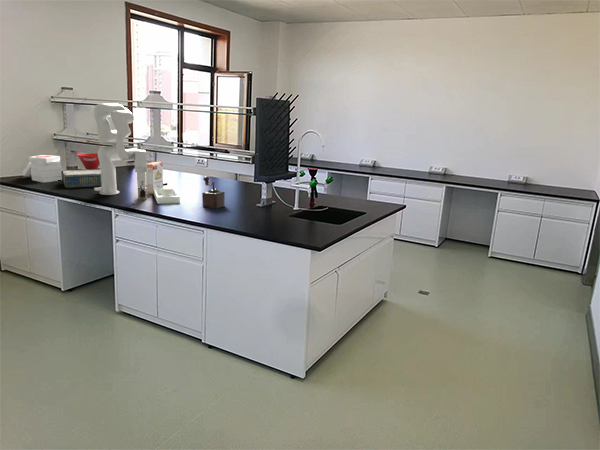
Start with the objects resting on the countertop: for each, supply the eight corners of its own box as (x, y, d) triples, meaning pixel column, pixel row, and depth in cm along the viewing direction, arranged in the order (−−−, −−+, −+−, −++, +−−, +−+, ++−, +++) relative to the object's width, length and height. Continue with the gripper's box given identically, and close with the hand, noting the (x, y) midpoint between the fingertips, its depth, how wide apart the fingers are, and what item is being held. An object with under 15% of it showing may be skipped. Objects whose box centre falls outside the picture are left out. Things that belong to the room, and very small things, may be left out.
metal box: (113, 186, 342) (112, 173, 340) (64, 188, 327) (63, 174, 324) (109, 181, 360) (108, 168, 358) (63, 183, 345) (62, 170, 342)
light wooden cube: (138, 201, 297) (137, 189, 295) (138, 199, 301) (137, 187, 299) (146, 201, 299) (146, 188, 297) (146, 199, 303) (145, 187, 301)
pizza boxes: (43, 175, 370) (41, 153, 366) (66, 180, 355) (64, 156, 351) (19, 178, 355) (16, 154, 350) (41, 183, 340) (39, 158, 335)
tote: (157, 205, 289) (157, 197, 288) (153, 195, 315) (153, 188, 314) (179, 204, 294) (179, 196, 293) (174, 195, 320) (174, 188, 319)
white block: (163, 202, 293) (162, 189, 291) (162, 200, 298) (161, 188, 296) (173, 201, 295) (173, 189, 293) (172, 199, 301) (171, 187, 299)
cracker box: (154, 194, 320) (152, 164, 314) (146, 193, 321) (144, 163, 316) (163, 190, 333) (162, 162, 328) (156, 190, 334) (155, 161, 329)
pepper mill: (225, 206, 295) (225, 178, 290) (215, 209, 285) (215, 180, 281) (205, 203, 301) (205, 175, 297) (195, 206, 291) (195, 177, 287)
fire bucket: (78, 180, 355) (75, 141, 348) (76, 176, 372) (73, 139, 364) (108, 179, 366) (106, 141, 358) (105, 176, 382) (102, 139, 374)
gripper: (134, 167, 301) (135, 193, 306) (135, 171, 286) (137, 198, 290) (146, 167, 304) (147, 193, 308) (148, 171, 288) (149, 198, 293)
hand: (142, 195), depth 299 cm, fingers open, 9 cm apart
